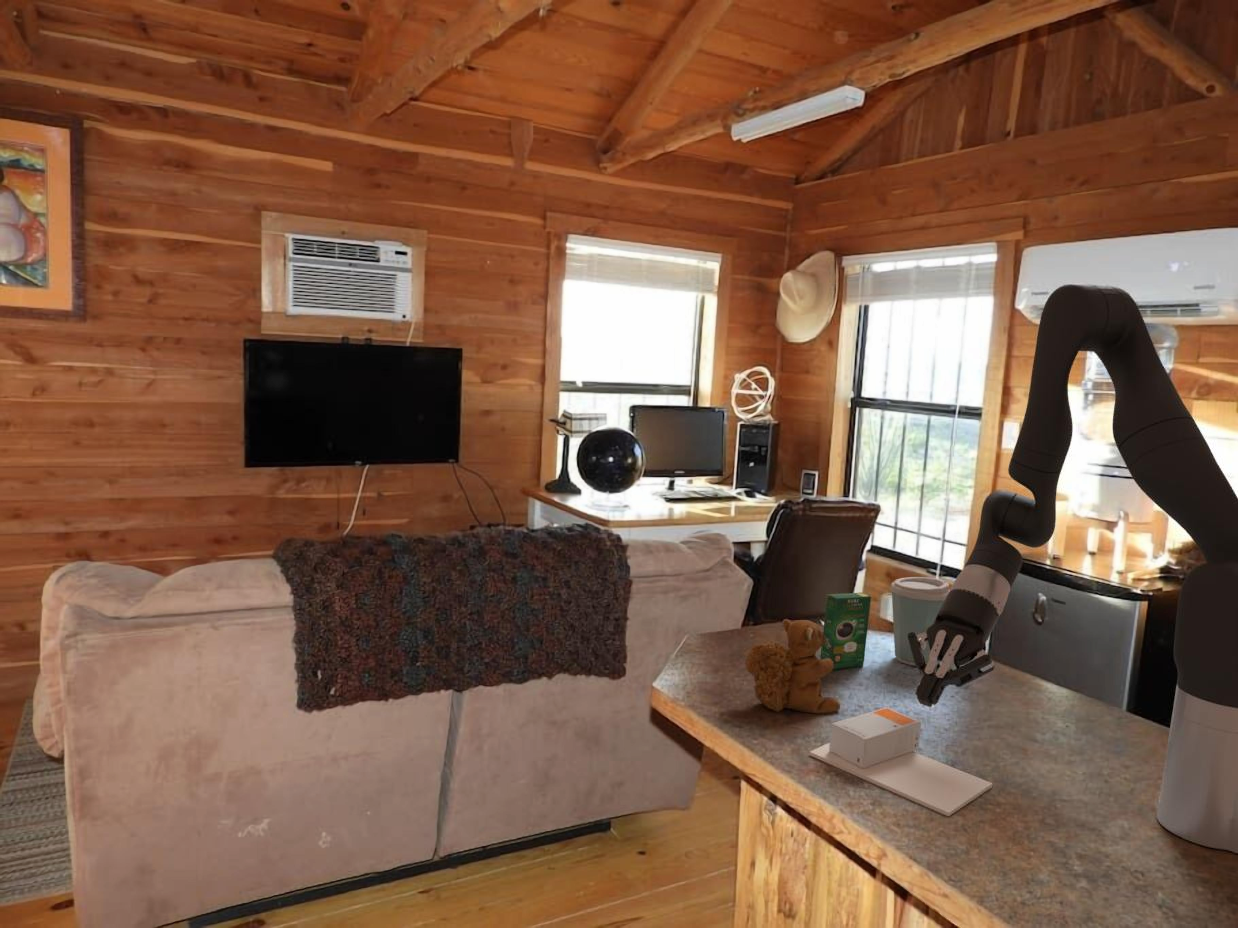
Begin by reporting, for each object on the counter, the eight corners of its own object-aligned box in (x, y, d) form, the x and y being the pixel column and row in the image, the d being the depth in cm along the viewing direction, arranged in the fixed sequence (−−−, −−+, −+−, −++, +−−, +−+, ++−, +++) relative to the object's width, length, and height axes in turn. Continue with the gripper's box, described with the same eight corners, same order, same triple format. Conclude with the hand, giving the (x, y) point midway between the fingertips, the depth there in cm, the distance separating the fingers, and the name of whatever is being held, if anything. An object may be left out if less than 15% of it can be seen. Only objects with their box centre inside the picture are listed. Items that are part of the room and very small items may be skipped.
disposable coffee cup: (891, 668, 158) (900, 586, 156) (876, 648, 169) (884, 570, 167) (952, 673, 158) (961, 590, 156) (932, 652, 169) (941, 574, 167)
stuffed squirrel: (845, 711, 138) (853, 629, 137) (767, 722, 133) (774, 636, 131) (807, 687, 147) (814, 610, 146) (732, 696, 142) (739, 616, 140)
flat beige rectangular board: (992, 786, 116) (992, 783, 116) (948, 816, 108) (948, 812, 108) (857, 732, 131) (857, 729, 131) (809, 755, 122) (809, 751, 122)
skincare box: (922, 720, 124) (866, 739, 117) (919, 749, 125) (863, 770, 118) (886, 705, 129) (830, 722, 122) (883, 733, 130) (827, 752, 123)
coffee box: (854, 661, 161) (861, 590, 160) (865, 666, 159) (872, 594, 157) (818, 665, 158) (825, 593, 156) (828, 671, 155) (835, 598, 154)
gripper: (924, 577, 133) (872, 673, 127) (1013, 599, 124) (962, 704, 117) (938, 606, 138) (888, 701, 131) (1025, 629, 128) (976, 733, 122)
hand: (923, 702), depth 124 cm, fingers closed
